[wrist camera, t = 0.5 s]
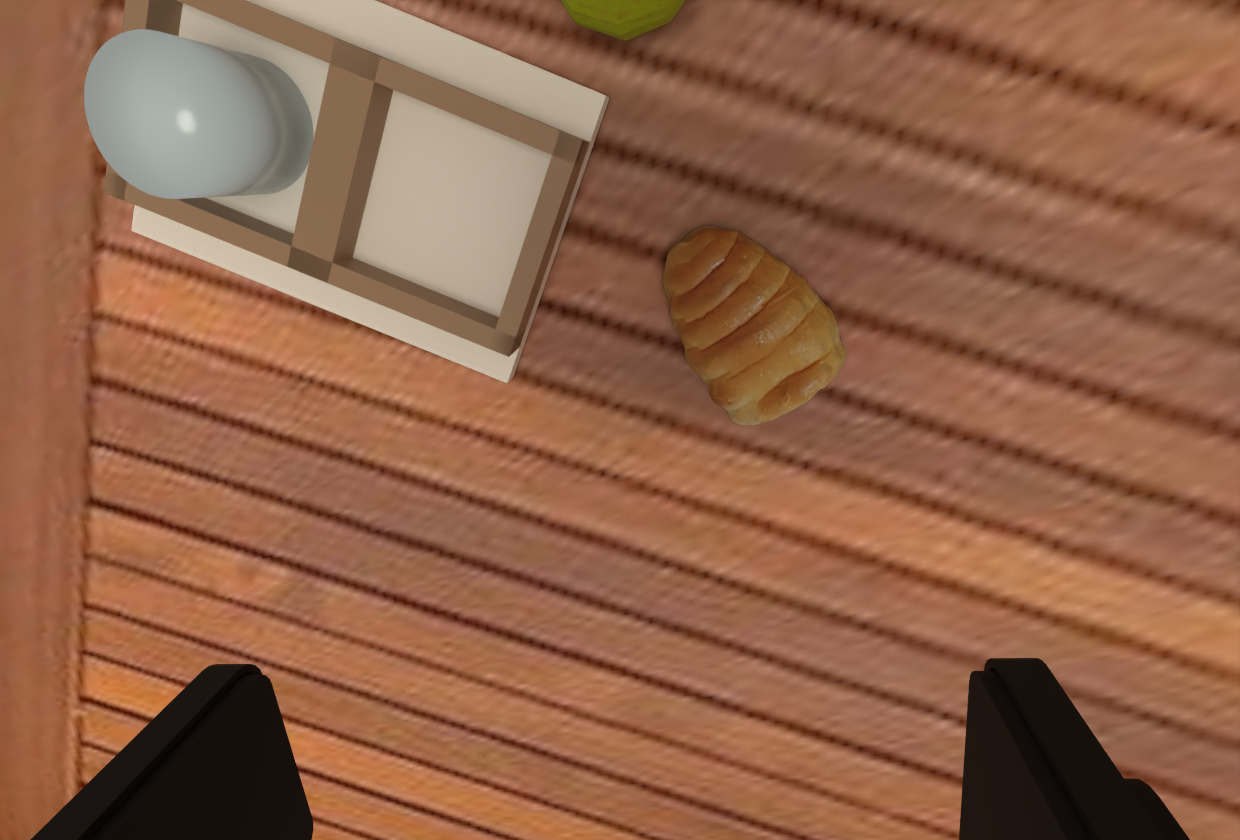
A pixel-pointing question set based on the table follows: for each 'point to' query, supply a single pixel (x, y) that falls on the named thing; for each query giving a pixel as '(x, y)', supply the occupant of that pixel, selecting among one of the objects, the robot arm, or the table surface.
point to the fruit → (622, 15)
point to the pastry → (749, 325)
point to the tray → (392, 174)
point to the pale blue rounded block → (195, 117)
